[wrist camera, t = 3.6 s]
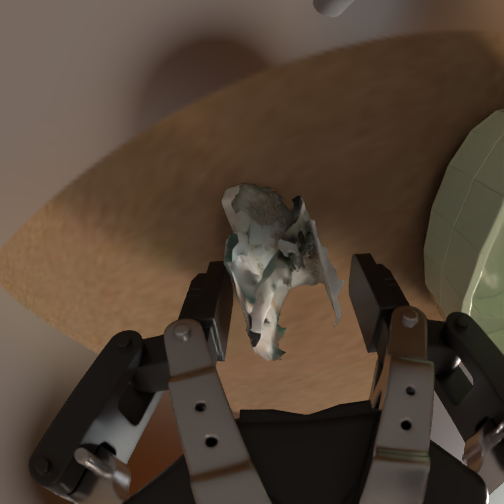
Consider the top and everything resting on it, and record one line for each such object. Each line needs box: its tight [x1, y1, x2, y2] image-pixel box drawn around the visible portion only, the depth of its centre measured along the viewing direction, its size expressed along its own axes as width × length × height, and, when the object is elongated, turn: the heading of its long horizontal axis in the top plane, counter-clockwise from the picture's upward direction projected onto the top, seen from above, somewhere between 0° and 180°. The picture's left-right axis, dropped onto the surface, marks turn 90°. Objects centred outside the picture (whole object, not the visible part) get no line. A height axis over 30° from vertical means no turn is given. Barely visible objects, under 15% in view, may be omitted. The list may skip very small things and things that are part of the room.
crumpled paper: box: [222, 183, 345, 361], centre depth 11 cm, size 4×8×7 cm, turn 21°
